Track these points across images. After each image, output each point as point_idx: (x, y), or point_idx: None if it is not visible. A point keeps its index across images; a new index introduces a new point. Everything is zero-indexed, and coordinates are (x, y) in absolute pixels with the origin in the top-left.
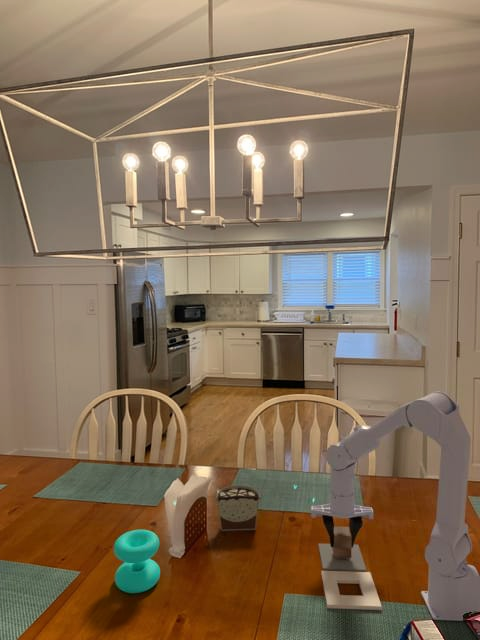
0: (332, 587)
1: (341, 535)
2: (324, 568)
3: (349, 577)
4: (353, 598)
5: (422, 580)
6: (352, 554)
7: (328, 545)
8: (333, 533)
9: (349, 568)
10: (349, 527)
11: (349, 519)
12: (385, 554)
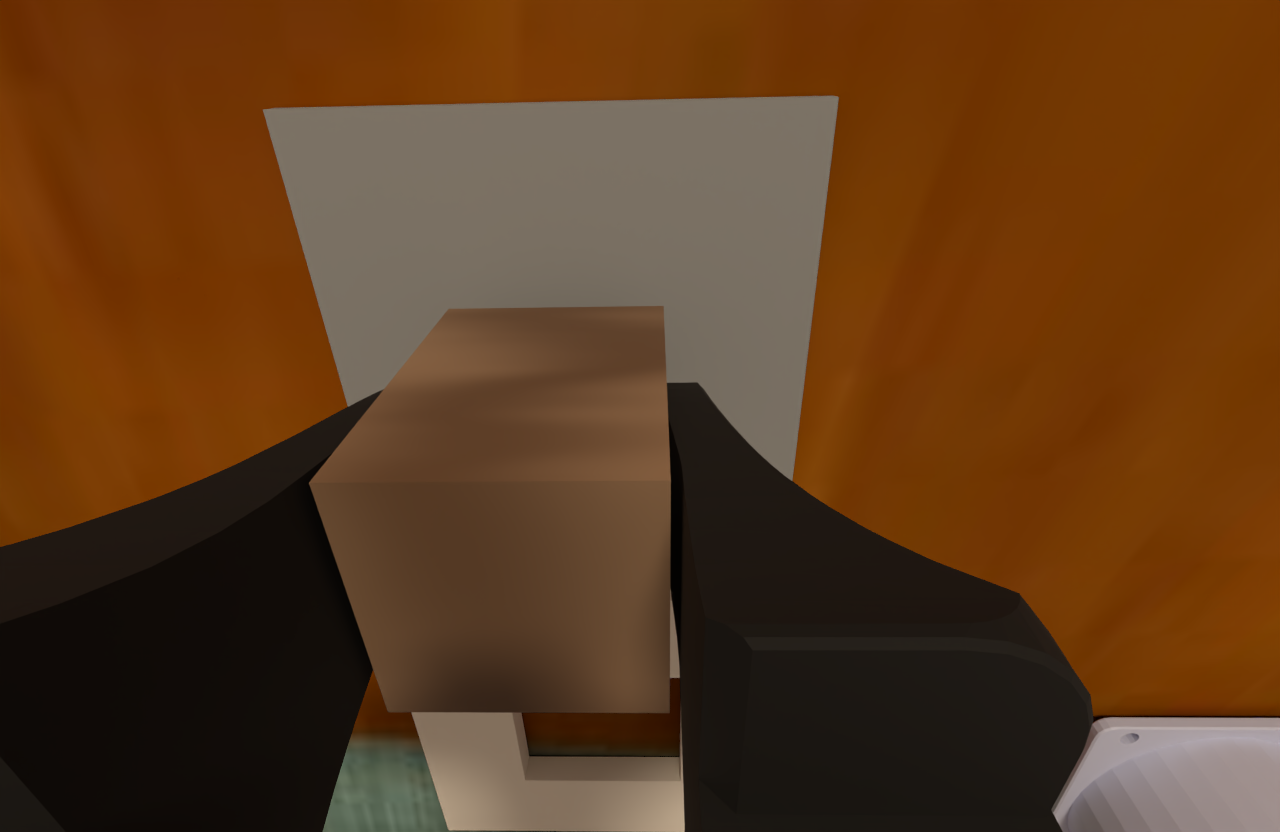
0: (475, 735)
1: (502, 705)
2: None
3: None
4: (609, 798)
5: (1211, 605)
6: (702, 334)
7: (411, 151)
8: (360, 699)
9: None
10: (683, 491)
11: (693, 613)
12: (1114, 266)
